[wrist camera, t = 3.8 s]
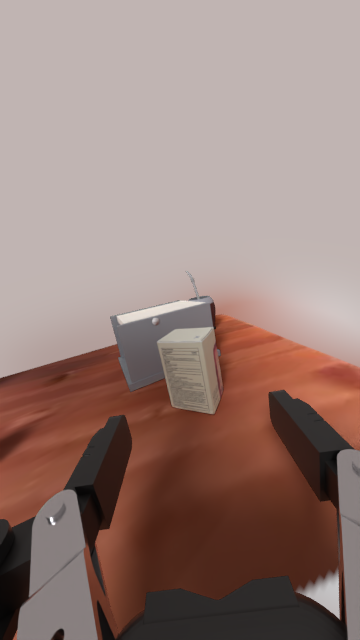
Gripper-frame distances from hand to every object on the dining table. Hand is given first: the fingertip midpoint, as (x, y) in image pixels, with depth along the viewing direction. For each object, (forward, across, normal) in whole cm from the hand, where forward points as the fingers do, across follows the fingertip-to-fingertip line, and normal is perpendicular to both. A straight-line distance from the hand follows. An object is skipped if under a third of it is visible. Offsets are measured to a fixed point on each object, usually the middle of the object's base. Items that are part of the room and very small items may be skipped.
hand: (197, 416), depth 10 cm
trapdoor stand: (+22, +5, +6) cm, 23 cm away
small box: (+10, 0, +6) cm, 12 cm away
